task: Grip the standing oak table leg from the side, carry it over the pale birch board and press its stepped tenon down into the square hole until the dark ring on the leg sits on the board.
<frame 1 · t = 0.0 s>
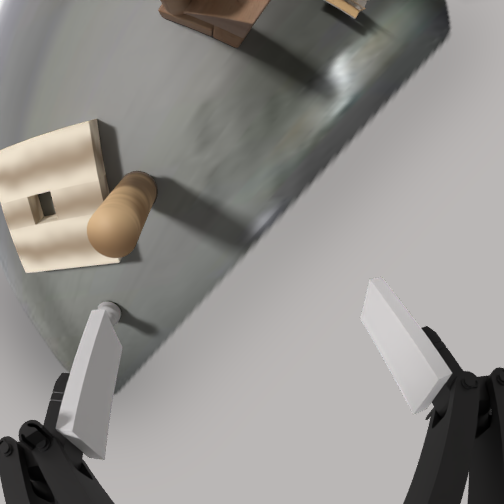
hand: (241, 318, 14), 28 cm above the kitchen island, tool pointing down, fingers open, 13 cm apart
architectural model: (333, 1, 28), on the kitchen island
oak leg: (142, 183, 37), on the kitchen island
birch board: (56, 199, 36), on the kitchen island
rook chess piece: (110, 309, 47), on the kitchen island
wooden post with wedge: (206, 21, 28), on the kitchen island
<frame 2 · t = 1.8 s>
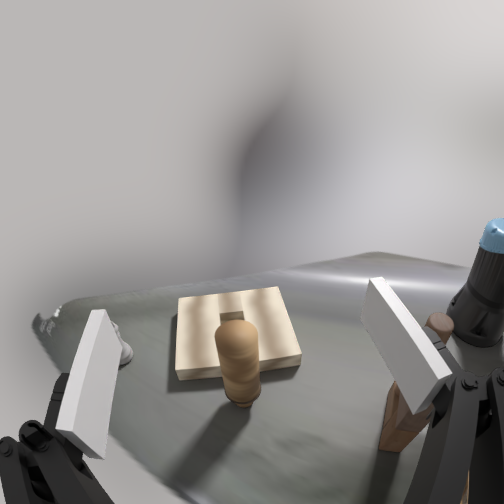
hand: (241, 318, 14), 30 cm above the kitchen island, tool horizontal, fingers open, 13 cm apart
architectural model: (453, 498, 21), on the kitchen island
oak leg: (244, 399, 41), on the kitchen island
birch board: (234, 335, 53), on the kitchen island
rook chess piece: (123, 357, 48), on the kitchen island
wooden post with wedge: (394, 421, 35), on the kitchen island
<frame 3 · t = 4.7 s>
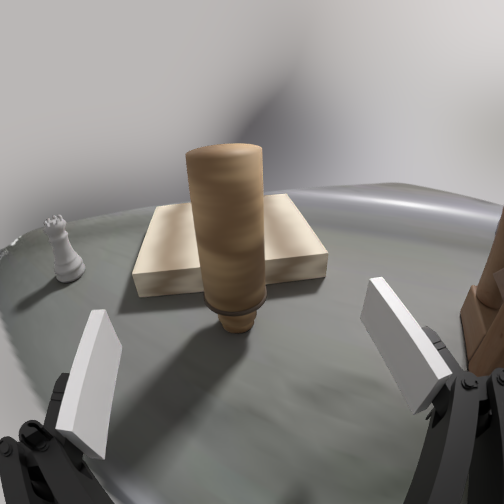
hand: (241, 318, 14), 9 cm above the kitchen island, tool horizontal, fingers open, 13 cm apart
oak leg: (237, 321, 26), on the kitchen island
birch board: (226, 245, 38), on the kitchen island
rook chess piece: (72, 275, 34), on the kitchen island
wooden post with wedge: (479, 352, 20), on the kitchen island
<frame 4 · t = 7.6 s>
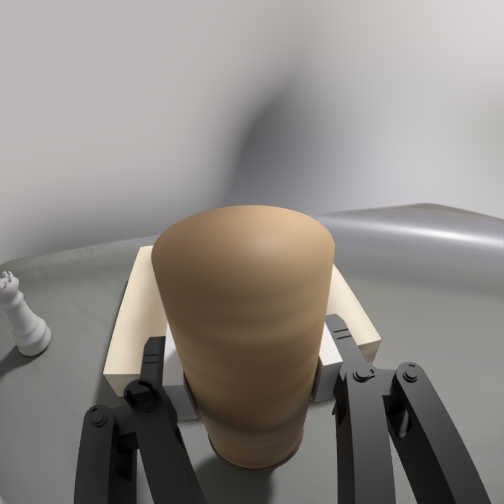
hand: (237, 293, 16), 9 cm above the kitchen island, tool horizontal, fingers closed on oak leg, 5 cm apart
oak leg: (257, 449, 16), on the kitchen island, touching gripper
birch board: (234, 310, 28), on the kitchen island
rook chess piece: (37, 344, 23), on the kitchen island
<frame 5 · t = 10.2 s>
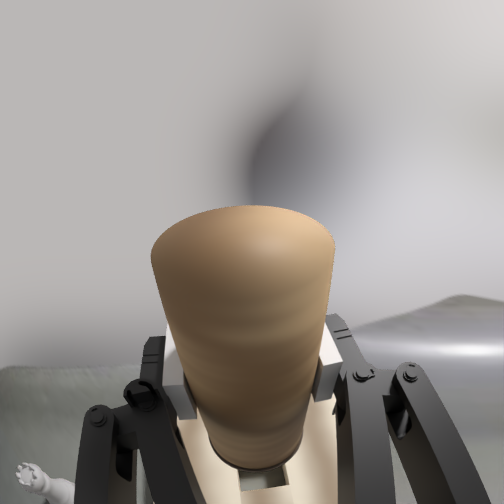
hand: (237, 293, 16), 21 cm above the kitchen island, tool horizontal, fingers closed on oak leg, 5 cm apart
oak leg: (257, 449, 16), point 12 cm above the kitchen island, touching gripper
birch board: (263, 484, 22), on the kitchen island
rook chess piece: (69, 499, 18), on the kitchen island
when the fingers open (9 cm above the kitchen island, at t = 12.9 s): oak leg stays where it is, resting on birch board.
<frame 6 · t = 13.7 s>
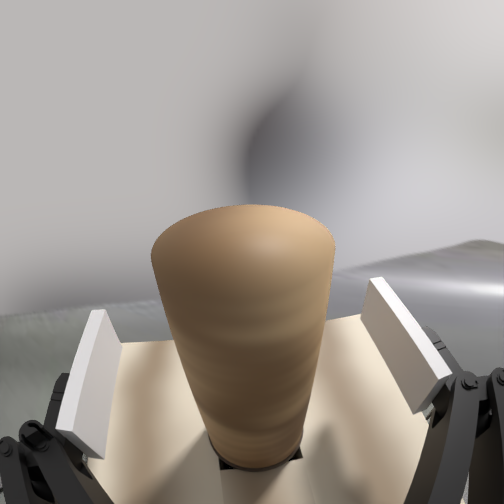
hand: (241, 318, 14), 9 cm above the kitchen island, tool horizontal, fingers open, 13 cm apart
oak leg: (257, 449, 16), resting on birch board
birch board: (259, 462, 15), on the kitchen island
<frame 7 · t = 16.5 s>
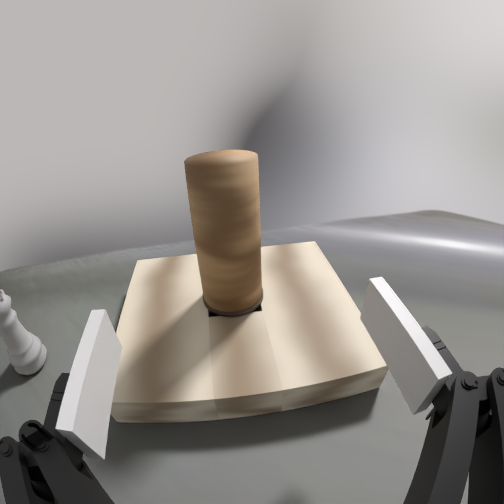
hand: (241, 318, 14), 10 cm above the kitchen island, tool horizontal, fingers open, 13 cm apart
oak leg: (235, 321, 27), resting on birch board
birch board: (236, 329, 26), on the kitchen island
rook chess piece: (32, 362, 22), on the kitchen island
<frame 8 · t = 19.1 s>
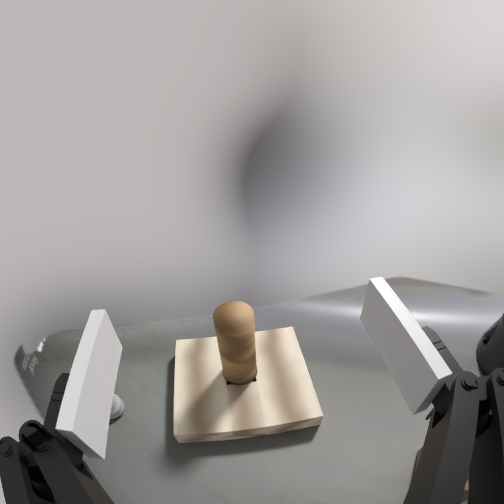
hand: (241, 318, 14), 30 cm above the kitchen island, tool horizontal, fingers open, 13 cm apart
oak leg: (241, 382, 44), resting on birch board
birch board: (242, 387, 43), on the kitchen island
rook chess piece: (113, 409, 38), on the kitchen island
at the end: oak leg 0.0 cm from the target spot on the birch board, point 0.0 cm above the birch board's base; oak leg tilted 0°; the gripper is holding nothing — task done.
